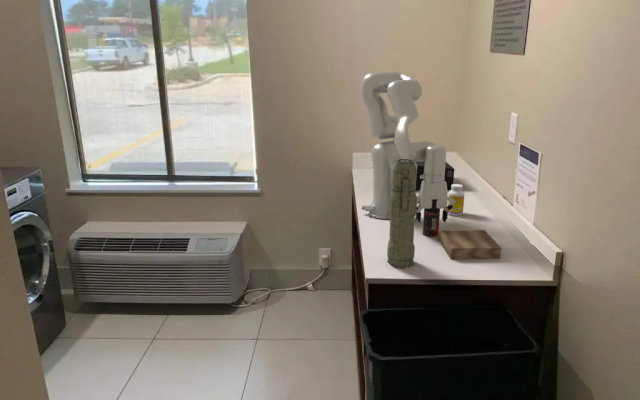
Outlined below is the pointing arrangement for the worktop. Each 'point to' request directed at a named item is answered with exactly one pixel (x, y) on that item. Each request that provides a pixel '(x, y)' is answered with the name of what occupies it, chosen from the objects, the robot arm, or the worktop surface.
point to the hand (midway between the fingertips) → (431, 221)
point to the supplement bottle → (458, 197)
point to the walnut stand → (469, 244)
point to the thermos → (402, 214)
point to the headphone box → (448, 177)
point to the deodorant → (431, 220)
